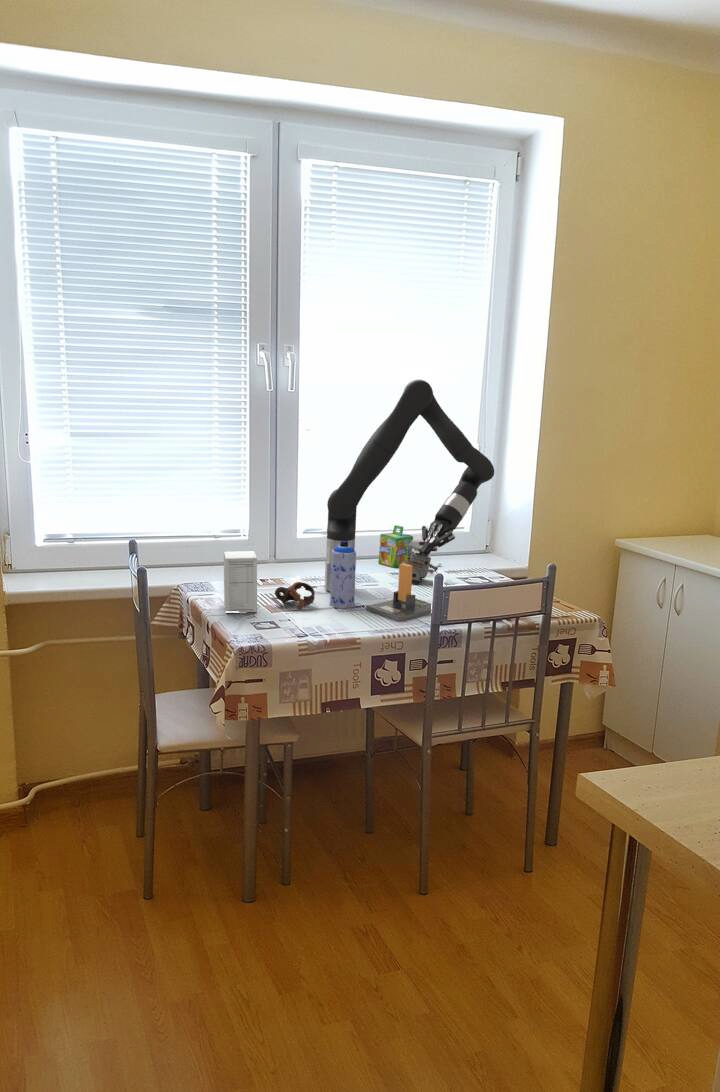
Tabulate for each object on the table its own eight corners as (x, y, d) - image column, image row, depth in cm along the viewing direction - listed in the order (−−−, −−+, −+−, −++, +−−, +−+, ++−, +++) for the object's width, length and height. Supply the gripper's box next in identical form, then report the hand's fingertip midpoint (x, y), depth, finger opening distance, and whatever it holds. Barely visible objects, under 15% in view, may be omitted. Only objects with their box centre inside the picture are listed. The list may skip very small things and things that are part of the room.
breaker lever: (402, 602, 245) (403, 563, 243) (410, 604, 243) (412, 565, 240) (397, 603, 244) (399, 563, 242) (406, 606, 241) (408, 566, 239)
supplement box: (255, 604, 245) (255, 550, 241) (257, 613, 236) (258, 557, 232) (223, 605, 243) (223, 550, 239) (224, 614, 234) (224, 557, 230)
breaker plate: (408, 601, 255) (409, 584, 254) (440, 611, 245) (442, 594, 244) (366, 610, 243) (366, 592, 242) (398, 621, 233) (399, 603, 232)
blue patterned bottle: (357, 602, 251) (360, 539, 247) (351, 609, 244) (353, 544, 239) (333, 600, 253) (335, 537, 249) (326, 606, 245) (328, 542, 241)
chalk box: (377, 563, 304) (379, 525, 301) (395, 560, 310) (396, 523, 307) (395, 568, 298) (397, 529, 295) (412, 565, 304) (414, 526, 301)
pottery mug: (306, 601, 252) (315, 582, 248) (309, 622, 245) (319, 602, 241) (269, 593, 248) (278, 574, 244) (271, 614, 241) (281, 594, 236)
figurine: (436, 586, 274) (438, 543, 271) (403, 583, 277) (405, 540, 274) (440, 580, 282) (443, 538, 279) (408, 577, 285) (410, 535, 282)
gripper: (431, 500, 253) (402, 543, 248) (463, 506, 244) (433, 550, 238) (442, 515, 258) (413, 557, 252) (473, 522, 248) (444, 566, 243)
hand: (423, 554), depth 245 cm, fingers closed
